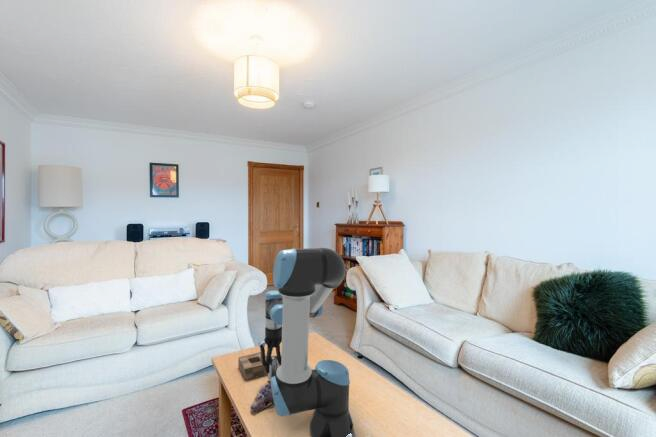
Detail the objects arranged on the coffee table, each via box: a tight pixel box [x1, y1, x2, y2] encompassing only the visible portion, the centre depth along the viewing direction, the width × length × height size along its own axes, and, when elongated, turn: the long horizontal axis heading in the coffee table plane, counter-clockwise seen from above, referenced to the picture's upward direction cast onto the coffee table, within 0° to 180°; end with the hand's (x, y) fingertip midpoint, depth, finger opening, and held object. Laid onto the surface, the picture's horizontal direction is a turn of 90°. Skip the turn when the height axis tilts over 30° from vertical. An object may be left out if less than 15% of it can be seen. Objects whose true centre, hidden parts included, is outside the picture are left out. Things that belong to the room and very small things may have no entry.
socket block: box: [237, 351, 268, 381], centre depth 144 cm, size 12×12×5 cm
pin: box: [270, 355, 278, 378], centre depth 136 cm, size 3×3×10 cm
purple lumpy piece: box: [249, 382, 274, 413], centre depth 120 cm, size 12×8×6 cm, turn 142°
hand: (273, 378), depth 136 cm, fingers closed on pin, 3 cm apart
